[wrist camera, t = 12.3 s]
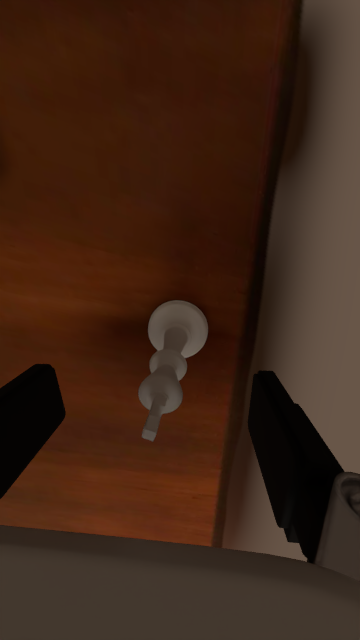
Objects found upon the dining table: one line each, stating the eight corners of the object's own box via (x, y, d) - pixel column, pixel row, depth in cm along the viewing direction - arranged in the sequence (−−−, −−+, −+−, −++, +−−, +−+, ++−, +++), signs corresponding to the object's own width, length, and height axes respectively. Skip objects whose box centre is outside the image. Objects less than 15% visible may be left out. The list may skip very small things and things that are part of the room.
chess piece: (217, 313, 16) (245, 407, 6) (195, 363, 17) (189, 497, 8) (159, 291, 15) (95, 354, 6) (141, 343, 17) (71, 457, 8)
